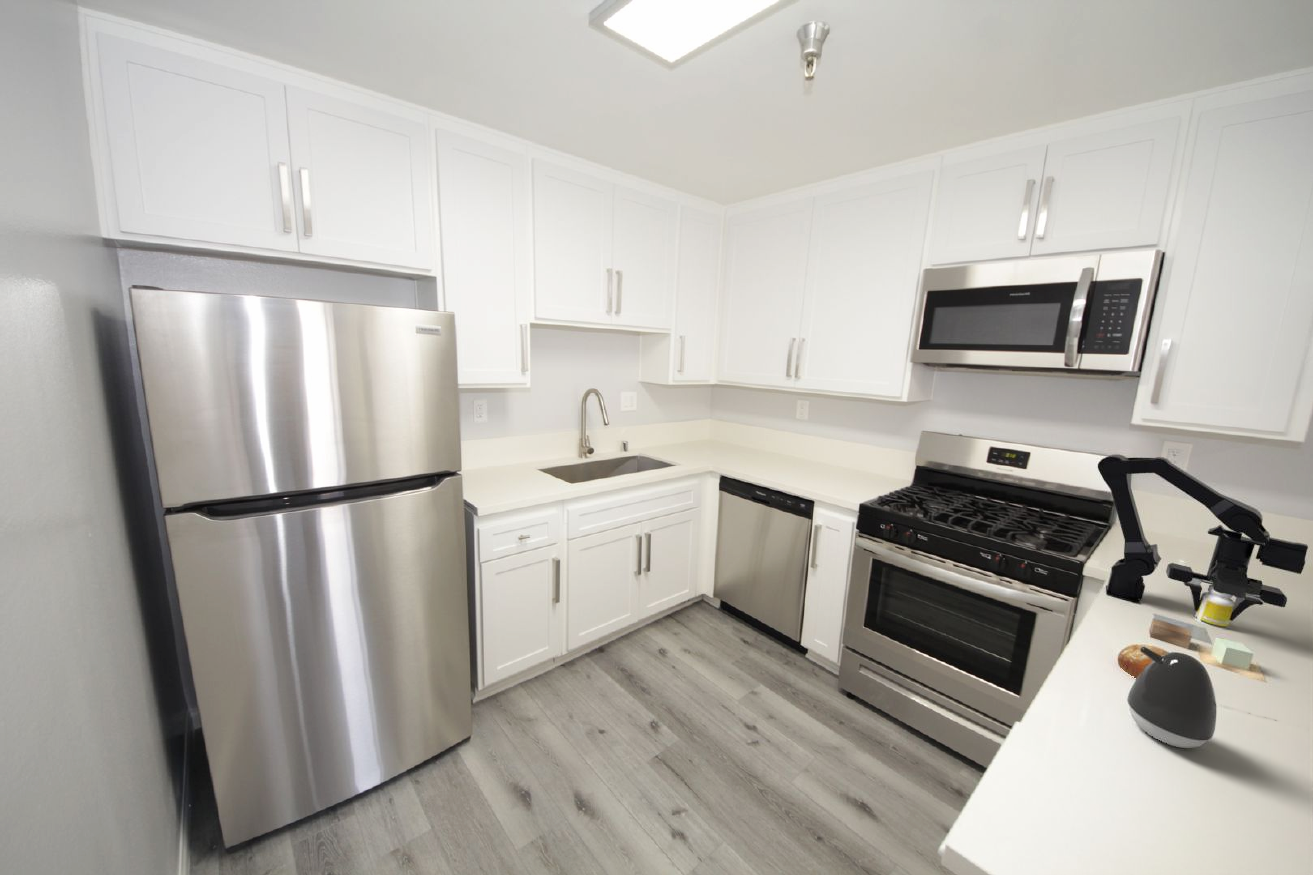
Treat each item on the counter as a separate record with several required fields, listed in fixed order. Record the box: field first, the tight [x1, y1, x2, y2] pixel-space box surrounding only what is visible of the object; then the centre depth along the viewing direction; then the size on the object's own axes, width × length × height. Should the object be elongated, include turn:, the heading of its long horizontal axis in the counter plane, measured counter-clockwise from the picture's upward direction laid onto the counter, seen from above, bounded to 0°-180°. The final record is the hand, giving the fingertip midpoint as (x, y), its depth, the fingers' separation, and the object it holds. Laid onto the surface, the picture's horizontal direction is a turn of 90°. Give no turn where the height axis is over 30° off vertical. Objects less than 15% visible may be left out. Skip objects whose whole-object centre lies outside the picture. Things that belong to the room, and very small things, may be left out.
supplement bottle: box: [1194, 584, 1235, 630], centre depth 119 cm, size 5×5×10 cm
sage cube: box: [1211, 637, 1254, 670], centre depth 103 cm, size 4×4×4 cm
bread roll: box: [1117, 644, 1170, 680], centre depth 98 cm, size 10×10×8 cm
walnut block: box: [1148, 617, 1193, 650], centre depth 111 cm, size 6×4×4 cm, turn 46°
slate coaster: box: [1152, 613, 1213, 645], centre depth 116 cm, size 9×9×1 cm
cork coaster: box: [1194, 643, 1268, 683], centre depth 104 cm, size 9×9×1 cm
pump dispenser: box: [1126, 647, 1218, 749], centre depth 81 cm, size 10×10×15 cm
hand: (1212, 615), depth 119 cm, fingers closed on supplement bottle, 5 cm apart
